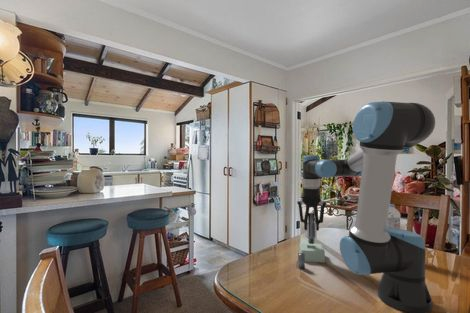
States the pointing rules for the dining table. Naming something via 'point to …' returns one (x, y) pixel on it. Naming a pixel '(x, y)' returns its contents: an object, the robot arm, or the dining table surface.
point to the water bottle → (393, 217)
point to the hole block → (312, 252)
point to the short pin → (301, 260)
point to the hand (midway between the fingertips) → (311, 236)
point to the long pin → (311, 228)
